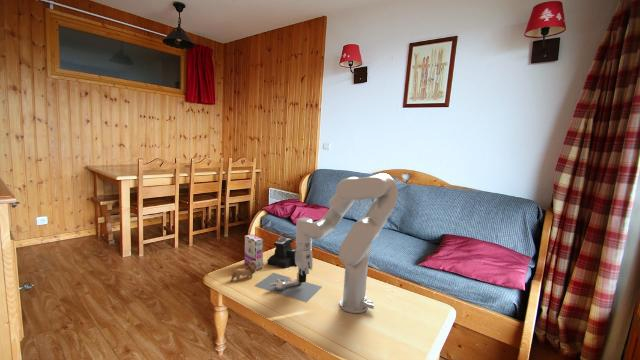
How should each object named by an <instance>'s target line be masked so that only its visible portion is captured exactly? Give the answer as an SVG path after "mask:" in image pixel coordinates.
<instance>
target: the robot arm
mask: <svg viewBox="0 0 640 360" xmlns="http://www.w3.org/2000/svg"><path fill="white" fill-rule="evenodd" d="M335 189H336V190H335V191H336V193H335V194H334V195H333V196H332V197H331V198H330V199H329V201H328V202H329V203H328V204H329V209H328V210H327V211H326V213H325V214H324V215H323V216H322V217H321V218H320V219H318V220H316V221H314V220H313V219H312V218H310V217H299V218H298V219H297V220H296V225H295V226H296V227H295V228H296V229H295V231H296V232H295V249H296V253H295V264H296V265H297V266H296V267H297V270H298V271H297V273H298V272H299V273H300V274H299V280H298V281H299V282H300V283H303V282H307V275H309V274H310V270H311V271H312V270H313V265H314V263H313V251H312V250H313V249H312V247H313V240H321V239H322V238H324V237H325V236H327V235H329V234H330V233H331V232H332V231H334V229H335V228H336V227H337V226H338V225H339V223H340V222H341V221H342V220H343V218H344V216H345V214H346V213H347V212H348V210H350V208H351V207H352V205H354V203H355V202H356V201H359V200H373V201H372V202H371V204H370V205H369V208H368V210H367V211H366V212H365V214H364V216H363V217H361V218H360V219H358V220H357V221H356V222H355V223H353V225H352V226H351V228H350V230H349V231H348V233H347V234H346V236H345V238H344V239H343V242H342V243H341V244H340V247H339V250H338V257H339V261H341V263H342V264H343V265H345V266H344V267H345V268H344V278H343V279H344V281H343V295H342V297H341V298H340V299H339V302H338V304H339V307H340V308H341V310H343V311H344V312H347V313H350V314H361V313H362V314H363V313H364V312H366V311H367V310H368V308H369V309H370V310H374V309H375V304H374V302H373V301H372V300H368V296H367V295H366V290H367V277H368V267H369V260H370V254H371V245H372V242H373V241H374V240H375V239H376V238H377V237H378V236H379V235H380V233H381V231H382V229H383V227H384V226H385V224H386V222H387V220H388V218H389V217H390V216H391V213H393V210H394V208H395V206H396V204H397V201H398V197H399V194H398V193H399V192H398V191H399V189H398V186H397V183H396V181H395V179H394V178H393V177H392V176H391V175H390V174H387V173H383V172H382V173H378V174H374V175H371V176H366V177H365V176H364V177H357V176H350V177H347V178H346V177H345V178H343V179H342V180H340V181H339V182H338V184H337V185H336V188H335Z"/></svg>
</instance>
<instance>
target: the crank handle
mask: <svg viewBox="0 0 640 360" xmlns="http://www.w3.org/2000/svg"><path fill="white" fill-rule="evenodd" d="M299 274H300V273H299V272H298V271H297V273H296V279H297V280H294V281H290V282H286V281H285V280H280V279H276V281H275V283H270V287H272V286H275V290H277V291H283V290H285V289H286V287H289V286H293V285H301V284H302V283H300V282H299V281H298V280H299Z"/></svg>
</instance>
